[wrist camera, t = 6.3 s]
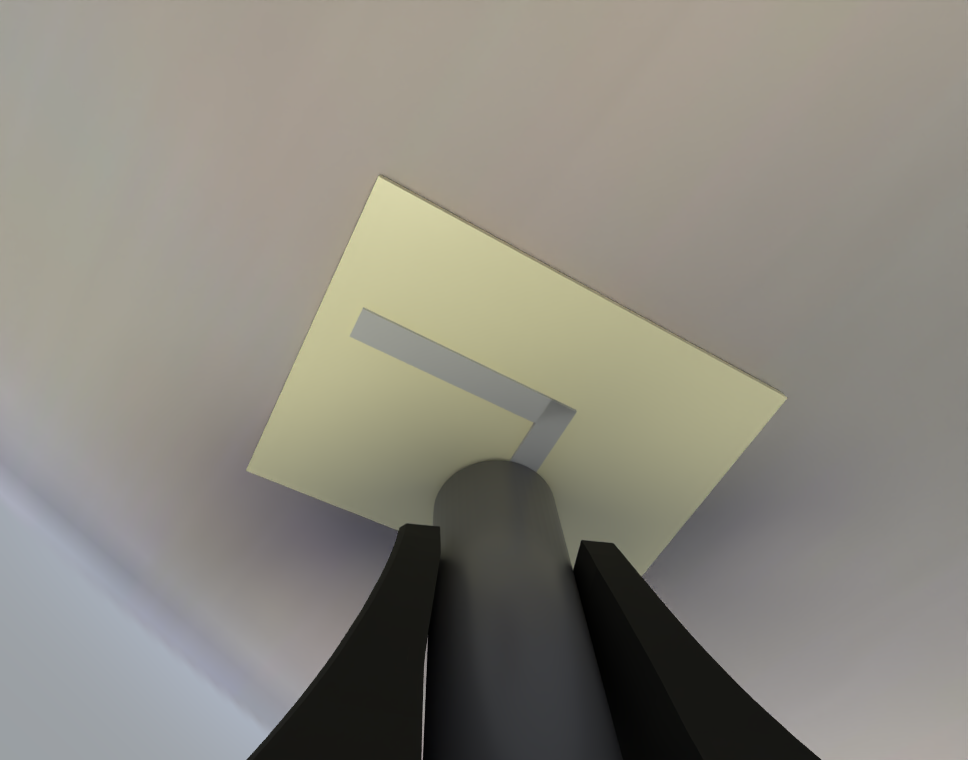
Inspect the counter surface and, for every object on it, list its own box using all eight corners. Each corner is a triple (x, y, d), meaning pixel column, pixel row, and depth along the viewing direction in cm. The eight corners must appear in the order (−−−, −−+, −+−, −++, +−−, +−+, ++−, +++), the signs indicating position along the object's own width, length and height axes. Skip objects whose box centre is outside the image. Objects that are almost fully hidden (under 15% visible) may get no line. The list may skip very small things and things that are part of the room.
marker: (569, 465, 12) (702, 867, 6) (544, 566, 13) (631, 1001, 7) (439, 451, 12) (426, 858, 6) (423, 555, 13) (398, 999, 7)
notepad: (779, 391, 12) (789, 399, 12) (607, 604, 15) (611, 617, 14) (380, 174, 10) (377, 176, 10) (250, 462, 13) (244, 473, 12)
